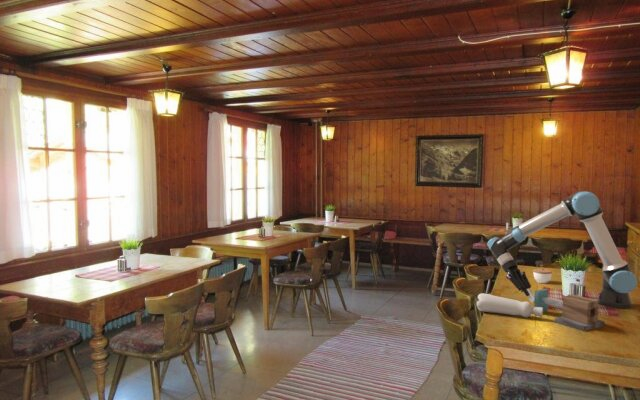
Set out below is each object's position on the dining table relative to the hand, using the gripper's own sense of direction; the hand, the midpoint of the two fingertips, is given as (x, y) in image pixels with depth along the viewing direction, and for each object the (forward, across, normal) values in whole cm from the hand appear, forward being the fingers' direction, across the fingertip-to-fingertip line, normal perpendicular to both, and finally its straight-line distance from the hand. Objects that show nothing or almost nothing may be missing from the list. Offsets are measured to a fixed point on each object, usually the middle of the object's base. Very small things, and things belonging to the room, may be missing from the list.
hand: (533, 300), depth 238 cm
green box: (+12, 0, +5) cm, 13 cm away
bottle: (+3, +17, -4) cm, 18 cm away
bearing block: (+21, 0, +14) cm, 25 cm away
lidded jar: (-22, -58, -30) cm, 69 cm away
